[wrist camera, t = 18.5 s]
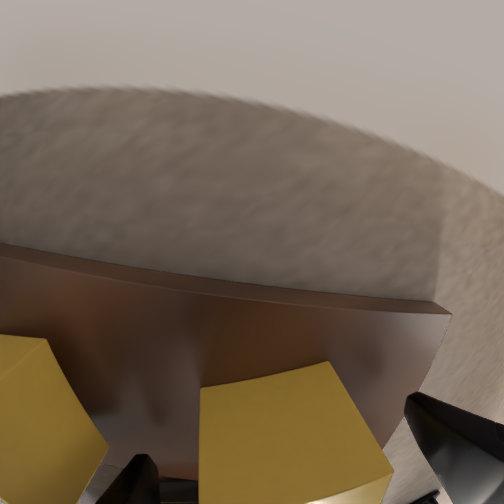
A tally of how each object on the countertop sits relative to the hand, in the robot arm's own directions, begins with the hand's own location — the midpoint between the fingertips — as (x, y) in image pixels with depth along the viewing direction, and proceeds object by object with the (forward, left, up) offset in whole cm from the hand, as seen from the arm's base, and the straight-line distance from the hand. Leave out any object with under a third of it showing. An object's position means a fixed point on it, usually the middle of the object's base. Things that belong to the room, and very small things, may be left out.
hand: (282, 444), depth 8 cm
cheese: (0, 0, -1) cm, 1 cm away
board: (+4, -1, -2) cm, 5 cm away
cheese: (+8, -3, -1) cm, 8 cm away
